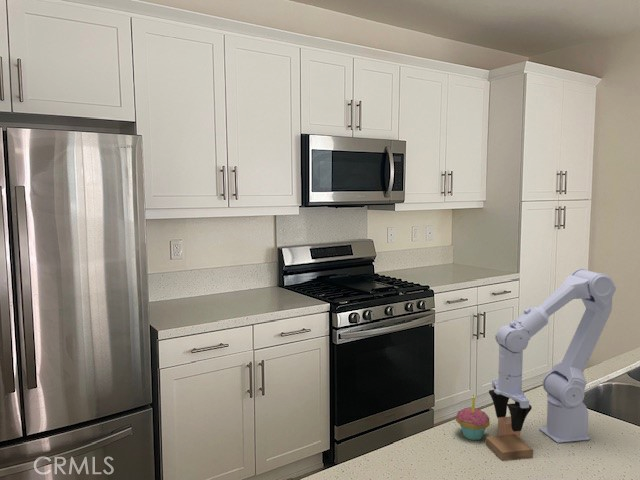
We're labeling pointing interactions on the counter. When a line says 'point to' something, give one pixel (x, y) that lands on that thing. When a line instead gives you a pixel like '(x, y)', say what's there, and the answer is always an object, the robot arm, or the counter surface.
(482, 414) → the cupcake
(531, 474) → the counter surface
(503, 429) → the block
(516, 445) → the base
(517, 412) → the robot arm
